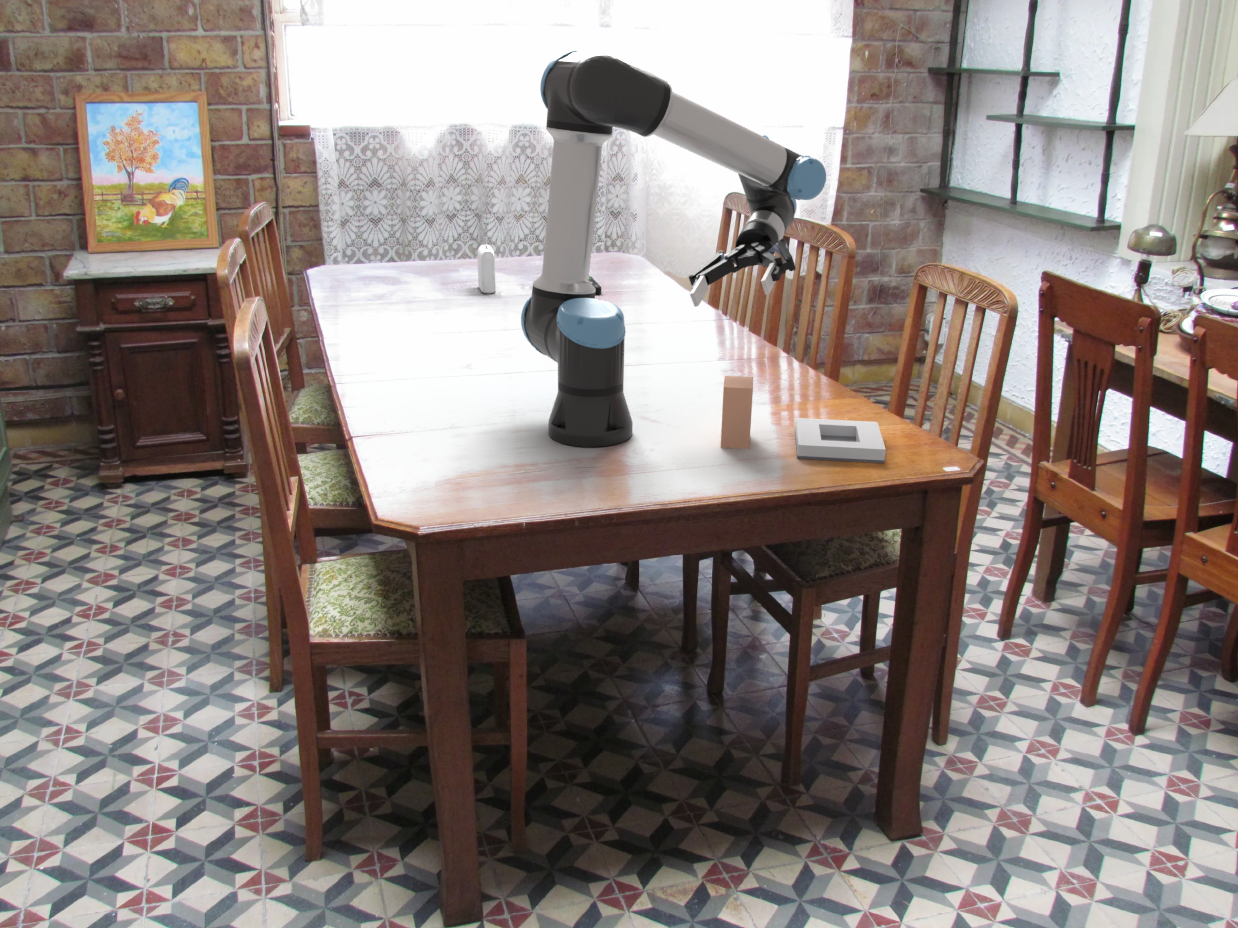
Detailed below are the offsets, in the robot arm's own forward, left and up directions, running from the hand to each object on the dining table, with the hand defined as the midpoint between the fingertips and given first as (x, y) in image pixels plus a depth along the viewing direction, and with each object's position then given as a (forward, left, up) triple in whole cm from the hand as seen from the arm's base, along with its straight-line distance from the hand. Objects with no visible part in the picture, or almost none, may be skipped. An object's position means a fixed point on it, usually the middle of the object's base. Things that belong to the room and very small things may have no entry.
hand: (728, 294), depth 200 cm
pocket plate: (+20, -6, -25) cm, 33 cm away
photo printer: (-69, +109, -25) cm, 131 cm away
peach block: (+2, -6, -25) cm, 26 cm away
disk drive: (-44, +113, -26) cm, 124 cm away
